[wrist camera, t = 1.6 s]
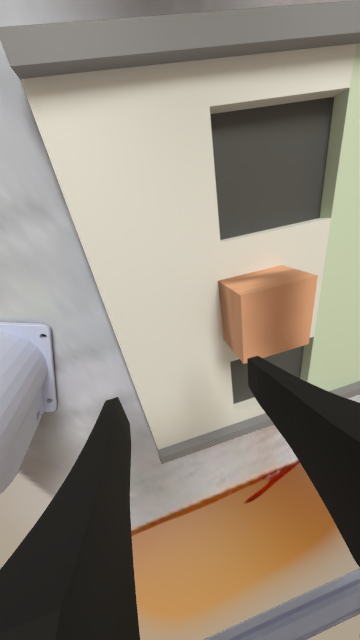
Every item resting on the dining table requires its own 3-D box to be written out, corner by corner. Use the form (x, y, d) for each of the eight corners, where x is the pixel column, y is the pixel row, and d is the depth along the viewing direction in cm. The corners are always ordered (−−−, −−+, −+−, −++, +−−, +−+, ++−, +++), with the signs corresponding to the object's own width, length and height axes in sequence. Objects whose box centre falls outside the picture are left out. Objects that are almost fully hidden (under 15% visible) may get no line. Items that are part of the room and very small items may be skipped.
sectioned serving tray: (158, 444, 27) (161, 463, 25) (20, 64, 11) (-5, 27, 9) (385, 367, 32) (405, 378, 29) (512, 16, 16) (574, -17, 14)
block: (223, 339, 21) (243, 363, 17) (217, 280, 18) (240, 295, 14) (278, 323, 21) (308, 344, 18) (281, 264, 19) (317, 275, 15)
